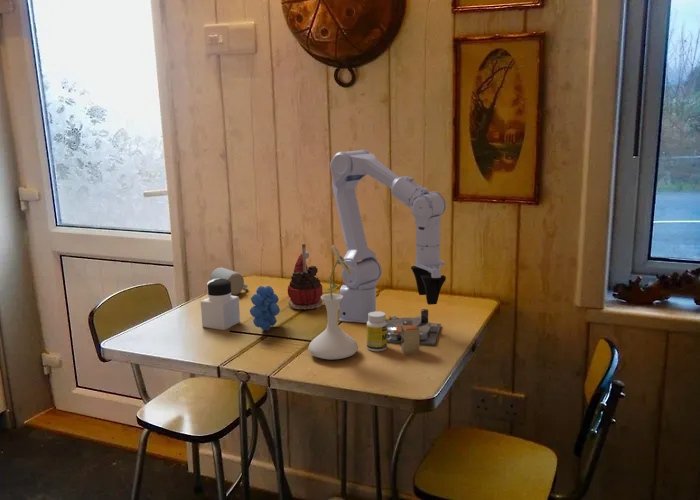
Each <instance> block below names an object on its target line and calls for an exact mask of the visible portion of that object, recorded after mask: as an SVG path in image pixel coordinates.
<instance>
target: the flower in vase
mask: <svg viewBox="0 0 700 500" xmlns="http://www.w3.org/2000/svg"><path fill="white" fill-rule="evenodd" d="M331 250H332V252H333V254H334V256H335V257H336V260H335V263H334V265H333V268H332V270H331V272H330V276H329V277H328V278H329V288H328V289H327V291H329V292H330V293H326V294H323V295H322V296H321V300H322V301H323V304H324V305H325V308H326V314H327V315H326V316H327V326H326V328H325V329H324V330H323V331H322V332H320V334H318V335H317V336H315V338H313V339H312V340H311V342H310V343H309V345H308V348H307V349H308V351H309V353H310V354H311V355H312V356H313V357H315V358H320V359H322V360H330V361H331V360H332V361H333V360H341V359H345V358H348V357H351V356H353V355H355V354H356V352H358V350H359V345H358V343H357V341H356V340H355V339H354V338H353V337H351V336H350V335H349V334H347V333H346V332H345V331H343V330H342V329H341V328H340V326H339V322H338V321H339V318H338V312H339V304H340V301H341V300H342V298H343V295H340V293H333V291H332V290H334V289H336V288H338V285H337V284H335V282H334V280H333V274H334V271H335V269H336V268H337V265H340V266H341V267H343V268H344V270H345V271H346V272H347V273H348V274H349V275H350V274H351V273H352V272H351V271H350V270H349V269H350V268H349V266H348V265H347V264H346V263H345V262H344V256H343V255H340V252H339V248H338V247H336V244H333V245H331Z"/></svg>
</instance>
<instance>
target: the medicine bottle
mask: <svg viewBox="0 0 700 500" xmlns="http://www.w3.org/2000/svg"><path fill="white" fill-rule="evenodd" d="M206 290H207V298H205V299H202V300H200V309H201V312H200V313H201V324H202V325H201V326H202V327H203V328H208V329H214V330H219V331H226V330H228V329H230V328H231V327H234V326H235V325H237V324H239V323H240V322H241V316H240V315H241V314H240V297H239V296H237V295H234V296H231V282H230V281H229V280H227V279H213V280H211V281H210V280H209V281H208V282H207V283H206Z"/></svg>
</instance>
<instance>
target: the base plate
mask: <svg viewBox="0 0 700 500" xmlns="http://www.w3.org/2000/svg"><path fill="white" fill-rule="evenodd" d="M385 321H386V322H387V321H389V319H385ZM429 323H430V324H437V325H438V332H430V333H429V334H428V335H427V339H425V340H420V342H419V346H430V347H431V346H432V347H435V346H436V343H437V339H438V336H439V332H440V331H441V327H442V323H435V322H434V323H433V322H429ZM388 343H390V344H391V343H392V344H401V338H399V339H398V340H393V339H390V335H388V334H387V344H388Z"/></svg>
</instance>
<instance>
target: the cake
mask: <svg viewBox="0 0 700 500" xmlns="http://www.w3.org/2000/svg"><path fill="white" fill-rule="evenodd" d="M301 248H302V249H301V250H302V251H301V253H300V255H299V256H298V257H297V260H296V262H295V264H294V269H293V272H292V275H291V276H290V277H291V280H290V281H289V284H288V286H287V295H288V298H290V299H289V302H288V306H289V307H291V308H292V309H295V310H296V309H297V310H303V309H304V310H312V309H315V308H316V309H317V308H319V307H322V306H323V304H324V301H323V300H322V299H321V296H322V295H324V293H323V285H322V283H321V280H320V279H319V278H318V277H316V276H317V274H318V273H319V272H318V267H317V266H315V265H311V266H308V264H307V259H309V257H310V253H309V252H308V251H307V249H306V248H307V247H306V243H302V244H301Z"/></svg>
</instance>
